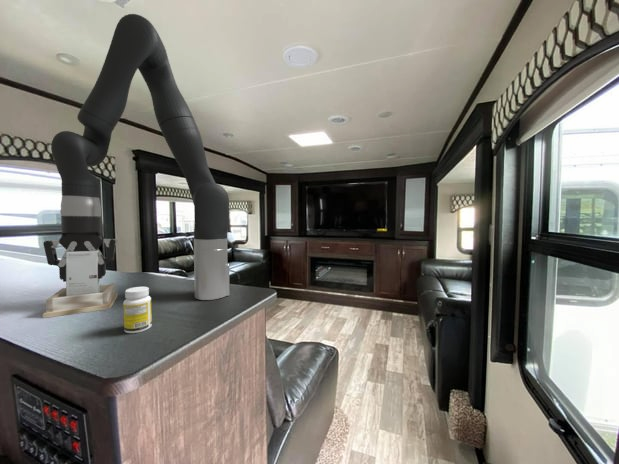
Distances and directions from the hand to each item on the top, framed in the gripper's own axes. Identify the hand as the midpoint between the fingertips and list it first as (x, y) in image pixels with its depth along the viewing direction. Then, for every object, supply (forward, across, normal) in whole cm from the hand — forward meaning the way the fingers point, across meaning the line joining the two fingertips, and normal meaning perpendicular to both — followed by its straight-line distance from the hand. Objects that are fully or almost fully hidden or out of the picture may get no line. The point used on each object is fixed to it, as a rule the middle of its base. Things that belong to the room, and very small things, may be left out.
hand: (83, 279), depth 63 cm
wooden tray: (+7, 0, 0) cm, 7 cm away
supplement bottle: (+7, -13, +23) cm, 27 cm away
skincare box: (+5, 0, 0) cm, 5 cm away
